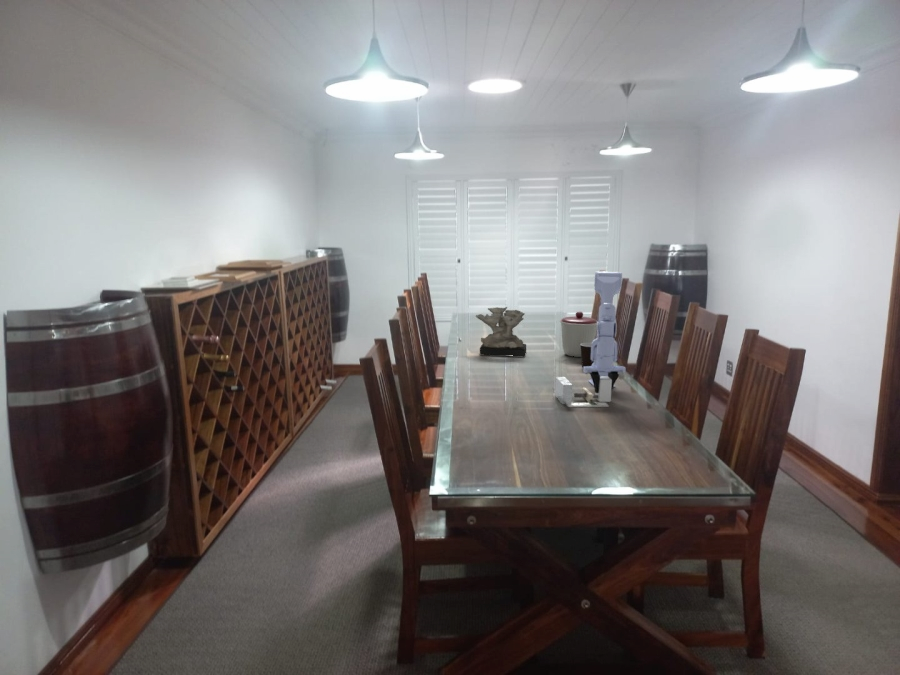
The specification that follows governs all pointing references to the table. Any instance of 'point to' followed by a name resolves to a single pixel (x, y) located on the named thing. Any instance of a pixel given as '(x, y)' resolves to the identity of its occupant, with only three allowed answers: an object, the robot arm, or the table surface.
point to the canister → (577, 333)
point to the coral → (502, 333)
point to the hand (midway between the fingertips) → (603, 392)
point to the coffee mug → (586, 354)
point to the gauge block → (604, 389)
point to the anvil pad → (585, 395)
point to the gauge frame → (565, 394)
